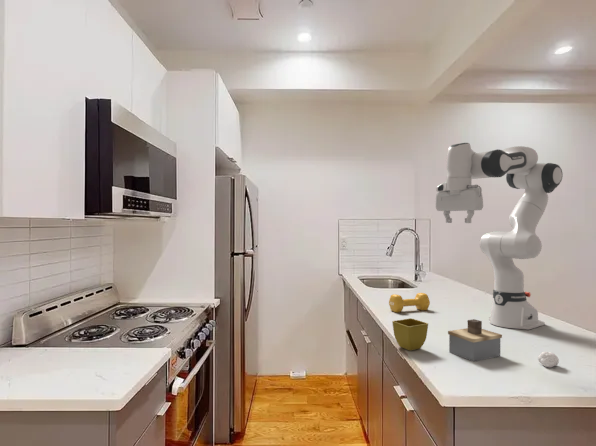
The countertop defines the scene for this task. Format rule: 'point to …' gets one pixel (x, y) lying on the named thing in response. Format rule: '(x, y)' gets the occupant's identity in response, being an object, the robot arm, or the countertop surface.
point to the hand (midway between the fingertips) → (458, 223)
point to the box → (474, 348)
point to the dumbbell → (409, 302)
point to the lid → (474, 332)
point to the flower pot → (410, 333)
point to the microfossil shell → (548, 359)
